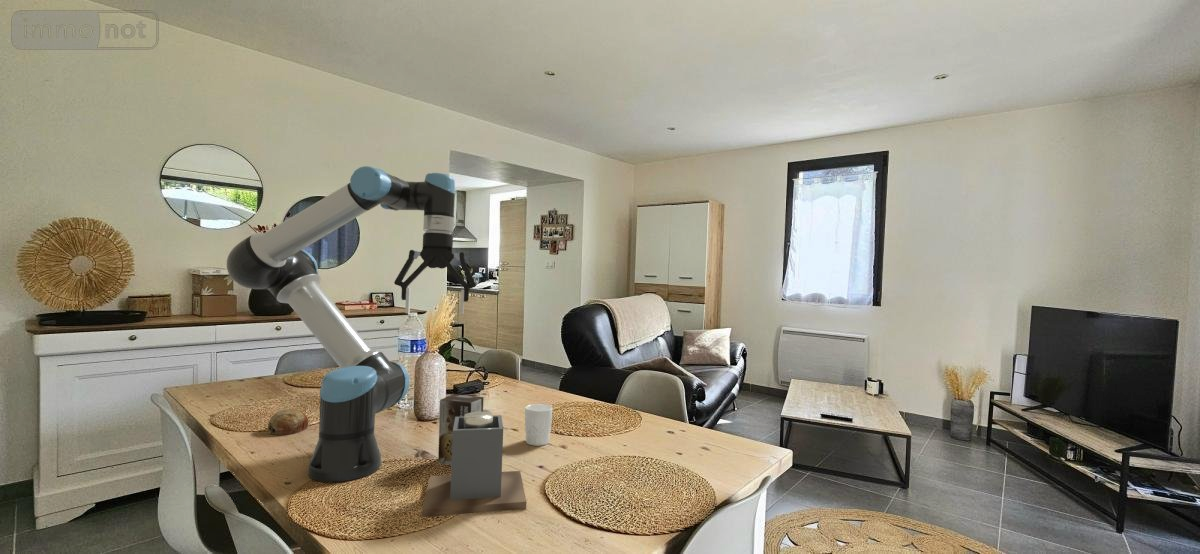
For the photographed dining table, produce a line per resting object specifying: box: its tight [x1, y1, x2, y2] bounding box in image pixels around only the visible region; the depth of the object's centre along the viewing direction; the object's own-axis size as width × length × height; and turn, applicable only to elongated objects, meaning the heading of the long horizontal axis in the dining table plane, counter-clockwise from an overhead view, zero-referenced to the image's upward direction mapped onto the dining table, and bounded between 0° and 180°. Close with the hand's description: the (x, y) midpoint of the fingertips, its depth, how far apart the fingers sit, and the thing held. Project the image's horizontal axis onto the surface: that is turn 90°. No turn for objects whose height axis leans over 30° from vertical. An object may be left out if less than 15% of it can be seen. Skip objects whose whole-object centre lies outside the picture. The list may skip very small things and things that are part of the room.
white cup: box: [524, 403, 553, 447], centre depth 137 cm, size 8×8×10 cm
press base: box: [421, 470, 527, 518], centre depth 102 cm, size 20×16×2 cm
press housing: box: [450, 414, 504, 501], centre depth 102 cm, size 10×10×14 cm
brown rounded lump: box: [267, 408, 310, 436], centre depth 139 cm, size 10×10×8 cm
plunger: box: [464, 411, 494, 429], centre depth 102 cm, size 8×8×15 cm
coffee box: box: [437, 393, 485, 466], centre depth 120 cm, size 9×6×16 cm
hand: (435, 313), depth 125 cm, fingers open, 13 cm apart
